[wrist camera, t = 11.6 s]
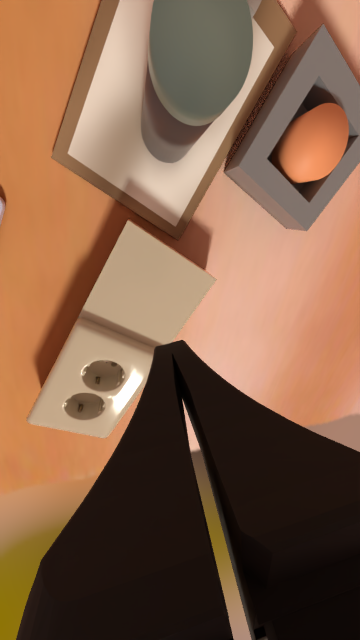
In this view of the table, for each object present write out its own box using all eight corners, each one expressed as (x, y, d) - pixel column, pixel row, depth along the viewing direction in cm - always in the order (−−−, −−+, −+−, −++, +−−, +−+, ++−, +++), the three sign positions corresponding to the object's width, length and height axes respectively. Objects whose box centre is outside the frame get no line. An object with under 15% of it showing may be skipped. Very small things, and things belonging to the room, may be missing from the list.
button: (261, 162, 14) (281, 154, 12) (298, 102, 13) (326, 84, 11) (294, 195, 16) (316, 193, 14) (329, 144, 14) (359, 134, 13)
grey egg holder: (223, 172, 15) (238, 166, 13) (291, 54, 12) (323, 23, 10) (286, 228, 17) (307, 230, 15) (350, 139, 15) (385, 128, 13)
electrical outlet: (221, 283, 15) (107, 441, 20) (204, 269, 18) (111, 406, 23) (127, 220, 12) (22, 425, 17) (128, 218, 15) (42, 387, 20)
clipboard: (53, 159, 13) (47, 155, 12) (158, -164, 9) (160, -206, 8) (177, 239, 16) (179, 241, 15) (292, 37, 12) (304, 23, 11)
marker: (165, 176, 14) (194, 138, 7) (127, 122, 12) (126, 18, 6) (204, 138, 13) (269, 64, 7) (170, 77, 12) (216, -86, 5)
